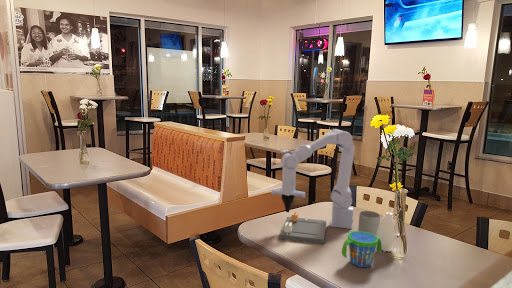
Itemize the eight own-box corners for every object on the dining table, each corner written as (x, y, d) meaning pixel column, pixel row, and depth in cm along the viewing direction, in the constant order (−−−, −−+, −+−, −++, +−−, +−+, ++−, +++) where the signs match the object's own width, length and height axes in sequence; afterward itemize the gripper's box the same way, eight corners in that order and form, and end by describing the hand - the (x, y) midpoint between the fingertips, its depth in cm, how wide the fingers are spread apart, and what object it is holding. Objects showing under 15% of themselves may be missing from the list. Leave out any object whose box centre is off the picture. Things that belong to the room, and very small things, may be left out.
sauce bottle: (378, 244, 146) (382, 201, 143) (399, 249, 141) (403, 206, 138) (372, 251, 139) (376, 207, 136) (393, 257, 135) (397, 211, 132)
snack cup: (372, 254, 137) (374, 229, 135) (388, 268, 127) (390, 241, 125) (334, 258, 133) (336, 232, 132) (348, 272, 123) (349, 244, 121)
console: (326, 224, 165) (326, 220, 164) (323, 244, 145) (323, 239, 144) (287, 220, 169) (287, 216, 169) (279, 238, 149) (279, 234, 148)
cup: (375, 233, 157) (377, 211, 155) (380, 241, 149) (382, 218, 147) (356, 232, 157) (357, 210, 156) (359, 240, 149) (361, 217, 148)
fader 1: (291, 229, 153) (292, 222, 153) (290, 232, 149) (290, 225, 149) (286, 228, 154) (286, 221, 153) (284, 232, 150) (284, 225, 149)
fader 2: (298, 218, 165) (298, 212, 165) (296, 221, 162) (297, 215, 161) (292, 218, 166) (292, 211, 165) (291, 221, 162) (291, 214, 162)
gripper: (270, 182, 153) (269, 212, 155) (304, 185, 149) (303, 216, 152) (273, 178, 159) (272, 207, 162) (306, 180, 156) (304, 210, 159)
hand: (287, 211), depth 157 cm, fingers closed
